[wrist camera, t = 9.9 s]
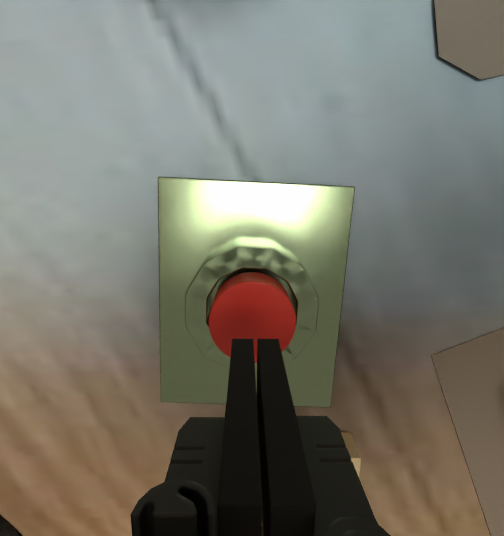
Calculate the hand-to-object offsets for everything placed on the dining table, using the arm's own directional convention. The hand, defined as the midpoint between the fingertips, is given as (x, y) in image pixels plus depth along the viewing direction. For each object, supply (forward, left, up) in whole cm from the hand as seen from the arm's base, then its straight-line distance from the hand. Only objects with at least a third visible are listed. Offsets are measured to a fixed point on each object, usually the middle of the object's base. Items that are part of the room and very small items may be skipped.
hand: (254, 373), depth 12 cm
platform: (-22, -10, -11) cm, 26 cm away
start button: (0, 0, -7) cm, 7 cm away
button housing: (0, 0, -10) cm, 10 cm away
